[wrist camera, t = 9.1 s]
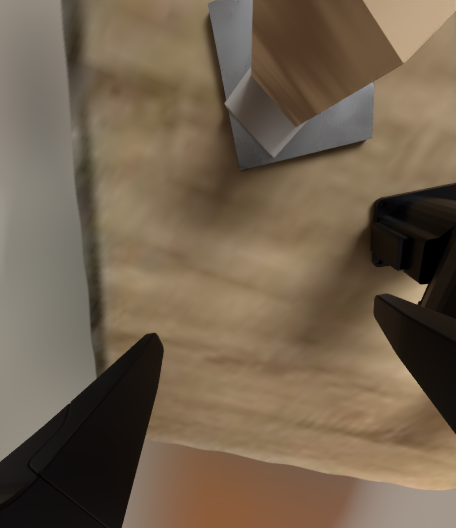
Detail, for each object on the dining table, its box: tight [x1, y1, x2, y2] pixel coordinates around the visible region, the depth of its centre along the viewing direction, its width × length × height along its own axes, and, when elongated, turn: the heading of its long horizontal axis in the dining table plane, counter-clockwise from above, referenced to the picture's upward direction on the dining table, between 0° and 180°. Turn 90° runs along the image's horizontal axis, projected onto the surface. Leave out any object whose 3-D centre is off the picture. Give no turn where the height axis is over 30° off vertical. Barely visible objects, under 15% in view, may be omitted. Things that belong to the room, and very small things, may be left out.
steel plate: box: [208, 0, 374, 171], centre depth 15 cm, size 10×10×1 cm
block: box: [224, 0, 456, 158], centre depth 9 cm, size 5×9×13 cm, turn 138°
